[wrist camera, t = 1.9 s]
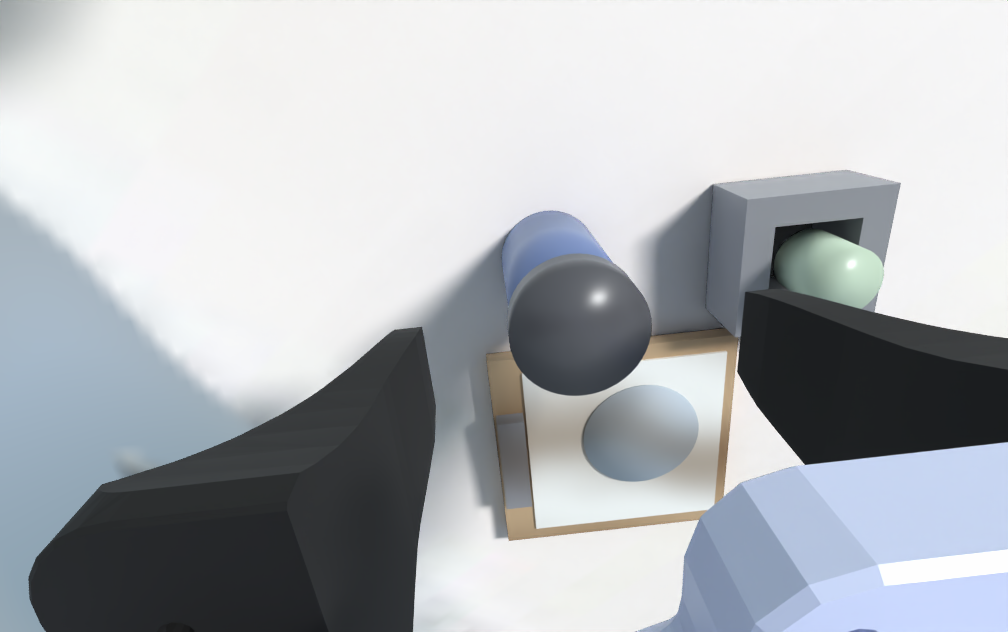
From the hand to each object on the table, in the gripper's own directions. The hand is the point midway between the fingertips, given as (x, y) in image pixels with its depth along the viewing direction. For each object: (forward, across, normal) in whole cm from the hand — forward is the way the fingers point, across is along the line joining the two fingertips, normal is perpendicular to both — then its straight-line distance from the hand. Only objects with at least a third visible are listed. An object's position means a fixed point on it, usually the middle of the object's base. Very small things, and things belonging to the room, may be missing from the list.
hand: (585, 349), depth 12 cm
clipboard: (+7, -2, +8) cm, 11 cm away
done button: (+5, -8, 0) cm, 9 cm away
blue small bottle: (+7, 0, 0) cm, 7 cm away
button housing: (+7, -8, 0) cm, 10 cm away
